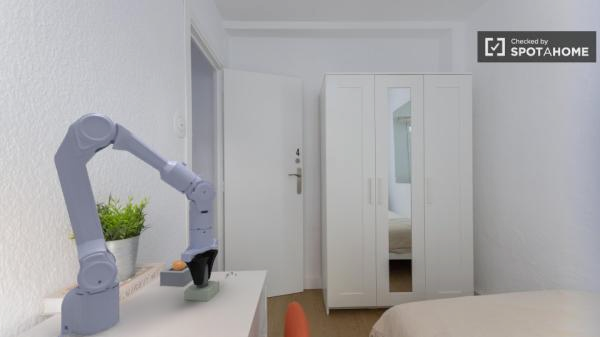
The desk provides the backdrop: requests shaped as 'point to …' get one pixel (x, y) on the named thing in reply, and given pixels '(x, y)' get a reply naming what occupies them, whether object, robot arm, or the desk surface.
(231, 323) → the desk surface
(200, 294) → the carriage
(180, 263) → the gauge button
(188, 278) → the grey square socket block
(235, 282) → the desk surface
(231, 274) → the game controller
